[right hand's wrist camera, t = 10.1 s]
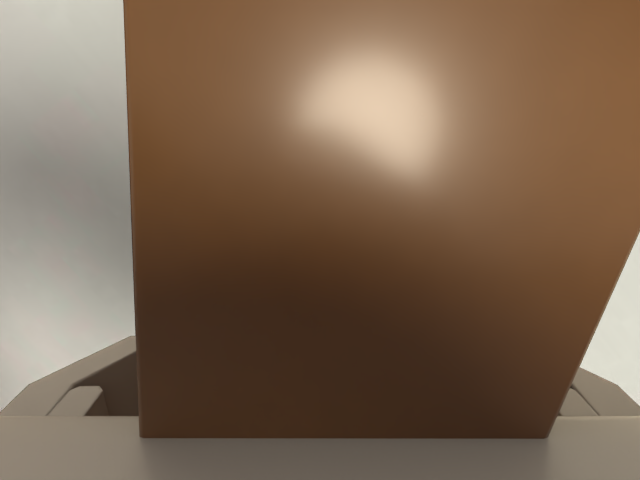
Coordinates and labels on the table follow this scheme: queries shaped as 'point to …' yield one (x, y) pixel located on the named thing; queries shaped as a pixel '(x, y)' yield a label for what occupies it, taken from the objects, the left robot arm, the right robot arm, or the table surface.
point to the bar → (375, 211)
